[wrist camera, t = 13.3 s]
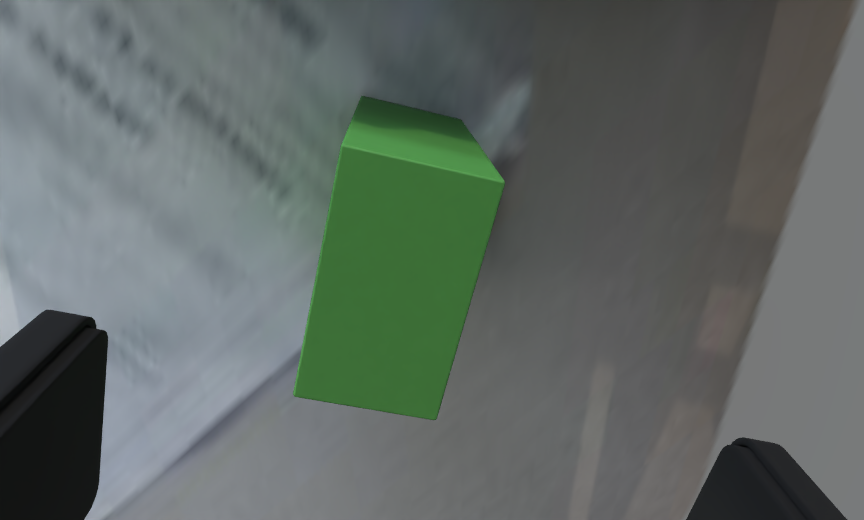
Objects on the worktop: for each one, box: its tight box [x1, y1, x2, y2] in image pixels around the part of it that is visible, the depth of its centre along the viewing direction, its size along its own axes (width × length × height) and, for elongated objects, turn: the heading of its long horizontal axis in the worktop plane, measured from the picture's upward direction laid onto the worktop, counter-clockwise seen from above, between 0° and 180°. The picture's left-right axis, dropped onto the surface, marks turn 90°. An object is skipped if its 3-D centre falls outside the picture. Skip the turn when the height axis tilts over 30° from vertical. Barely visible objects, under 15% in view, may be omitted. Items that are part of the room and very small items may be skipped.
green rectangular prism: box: [293, 96, 505, 420], centre depth 20 cm, size 4×7×10 cm, turn 166°
